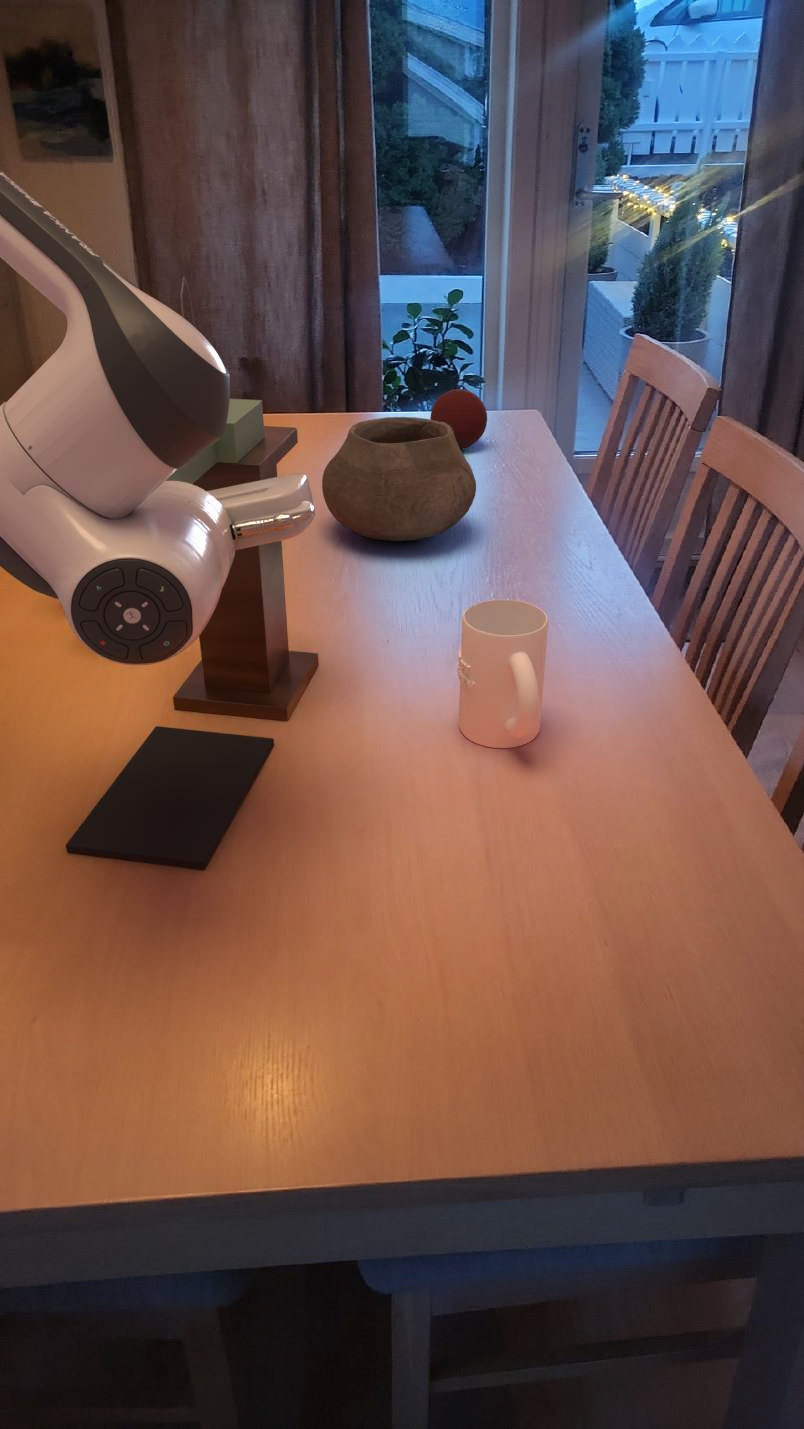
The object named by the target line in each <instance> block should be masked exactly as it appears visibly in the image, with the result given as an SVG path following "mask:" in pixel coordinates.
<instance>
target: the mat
mask: <svg viewBox="0 0 804 1429" xmlns="http://www.w3.org/2000/svg"><path fill="white" fill-rule="evenodd" d="M274 746H275V739H274V738H273V737H264V736H254V735H246V734H245V735H244V734H235V733H224V732H216V731H205V730H198V729H197V730H196V729H187V728H178V727H177V728H176V727H168V726H159V725H156V726H155V727H154V728H153V729H152V731H151V732H150V733H149V735H148V736H147V737H146V739H145V740H144V741H143V742H142V744H141V745H140V747H139V748H138V749H137V750H136V752H135V753H134V754H133V756H132V757H131V758H130V760H129V761H128V762H127V763H126V765H125V766H124V768H123V769H122V770H121V772H119V774H118V775H117V777H116V778H115V779H114V780H113V782H112V783H111V785H110V786H109V787H108V788H107V790H106V791H105V792H104V794H103V795H102V796H101V797H100V799H99V800H98V801H97V803H96V805H95V806H94V807H93V809H92V810H91V811H90V812H89V814H88V815H87V816H86V818H85V819H83V821H82V823H81V824H80V826H78V828H77V829H76V831H75V832H74V833H73V835H72V836H71V837H70V838H69V840H68V841H67V843H66V844H65V849H66V852H67V854H68V853H69V854H77V855H84V856H91V857H93V856H94V857H100V858H109V859H115V860H116V859H117V860H122V861H130V862H141V863H147V864H155V865H161V866H168V867H169V866H170V867H177V868H185V869H193V870H202V871H206V869H207V867H208V865H209V863H210V862H211V860H212V858H213V856H214V854H215V853H216V851H217V850H218V847H219V845H220V844H221V842H222V841H223V838H224V836H225V834H226V833H227V831H228V829H229V827H230V826H231V824H232V822H233V820H234V818H235V817H236V815H237V812H238V811H239V809H240V808H241V806H242V804H243V802H244V801H245V798H246V797H247V795H248V793H249V791H250V789H251V788H252V786H253V784H254V782H255V781H256V778H257V777H258V775H259V773H260V771H261V770H262V768H263V766H264V764H265V763H266V761H267V759H268V757H269V755H270V754H271V752H272V750H273V748H274Z"/></svg>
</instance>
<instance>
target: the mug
mask: <svg viewBox="0 0 804 1429" xmlns="http://www.w3.org/2000/svg"><path fill="white" fill-rule="evenodd" d="M548 628H549V618H548V616H547V614H546V613H545V611H543V609H541V608H540V607H538V606H536V605H534V604H532V603H529V602H526V601H521V600H515V599H489V600H484V601H480V602H477V603H475V604H472V605H471V606H469V607H468V608H466V610H465V611H464V612H463V615H462V617H461V641H460V642H461V644H460V648H459V649H458V655H457V656H458V658H457V662H458V664H457V677H458V680H459V703H458V727H459V730H460V732H461V734H462V735H463V736H464V737H465V738H466V739H468V740H469V741H471V742H472V743H474V744H477V745H480V746H482V747H486V748H493V749H494V748H495V749H510V748H511V749H513V748H517V747H521V746H524V745H527V744H528V743H530V742H532V741H533V740H534V739H536V737H537V735H538V734H539V732H540V730H541V720H542V707H543V706H542V705H543V695H544V694H543V693H544V682H545V681H544V680H545V670H546V657H547V656H546V655H547V644H548V631H549V629H548Z"/></svg>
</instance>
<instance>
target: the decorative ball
mask: <svg viewBox="0 0 804 1429" xmlns="http://www.w3.org/2000/svg"><path fill="white" fill-rule="evenodd" d="M429 419H430V420H434V421H438V422H445V423H446V424H448V425H449V426H450V427H451V428H452V430H453V432H454V436H455V439H456V442H457V444H458V446H459V448H460V449H465V448H468V447H471V446H473V445H474V444H475V443H477V442H478V441H479V440H480V439H481V438H482V437H483V435H484V433H485V431H486V428H487V424H488V412H487V409H486V405H485V404H484V402H483V401H482V399H481V398H480V397H479V396H478V395H477V394H475V393H474V392H472V391H470V390H468V389H462V388H456V389H450V390H448V391H446V392H444V393H443V394H442V395H440V396H439V397H438V399H436V401H435V402H434V405H433V406H432V408H431V412H430V417H429Z"/></svg>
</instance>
